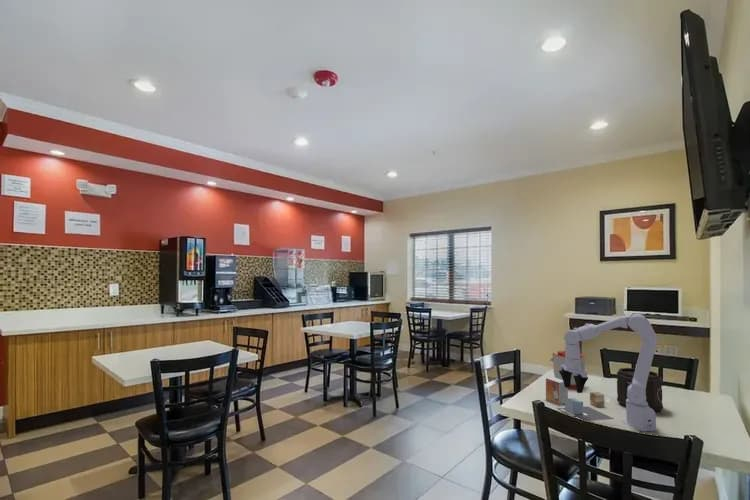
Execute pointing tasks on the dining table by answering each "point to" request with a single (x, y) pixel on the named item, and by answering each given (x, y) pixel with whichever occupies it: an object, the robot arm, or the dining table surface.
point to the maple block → (597, 399)
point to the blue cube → (573, 406)
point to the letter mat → (588, 414)
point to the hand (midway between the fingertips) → (573, 390)
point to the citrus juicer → (561, 360)
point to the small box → (556, 390)
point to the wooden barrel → (652, 388)
